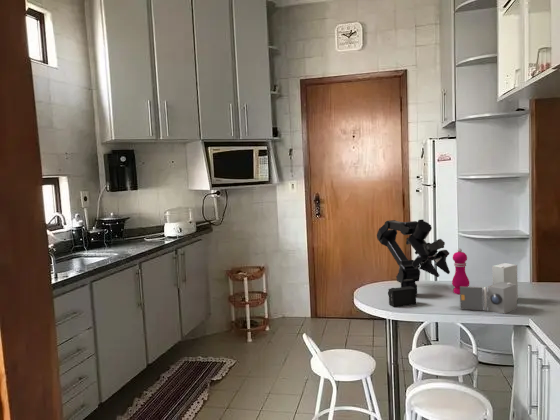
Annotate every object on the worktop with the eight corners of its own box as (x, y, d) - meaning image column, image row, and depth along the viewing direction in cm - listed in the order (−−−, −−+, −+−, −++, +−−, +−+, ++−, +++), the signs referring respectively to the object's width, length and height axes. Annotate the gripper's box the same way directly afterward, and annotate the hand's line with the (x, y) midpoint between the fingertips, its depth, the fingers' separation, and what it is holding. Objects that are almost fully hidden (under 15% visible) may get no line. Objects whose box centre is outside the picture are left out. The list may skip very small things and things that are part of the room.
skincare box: (506, 297, 194) (505, 262, 193) (519, 300, 189) (518, 264, 188) (492, 300, 190) (491, 265, 189) (505, 303, 185) (504, 267, 184)
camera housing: (486, 311, 176) (486, 285, 176) (501, 305, 183) (500, 280, 182) (502, 314, 171) (501, 287, 171) (516, 308, 178) (516, 282, 177)
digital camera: (410, 301, 196) (409, 285, 196) (416, 304, 191) (415, 288, 191) (387, 304, 194) (386, 287, 194) (393, 307, 189) (392, 290, 188)
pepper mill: (466, 290, 208) (465, 246, 207) (471, 294, 201) (470, 249, 200) (450, 290, 209) (449, 247, 208) (454, 294, 202) (453, 250, 201)
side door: (487, 309, 177) (486, 287, 177) (487, 310, 176) (486, 288, 175) (460, 308, 181) (460, 286, 181) (460, 309, 180) (459, 287, 179)
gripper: (417, 236, 184) (442, 266, 176) (444, 230, 195) (469, 259, 187) (402, 253, 191) (425, 283, 183) (429, 247, 202) (452, 275, 194)
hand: (443, 274), depth 187 cm, fingers open, 7 cm apart
